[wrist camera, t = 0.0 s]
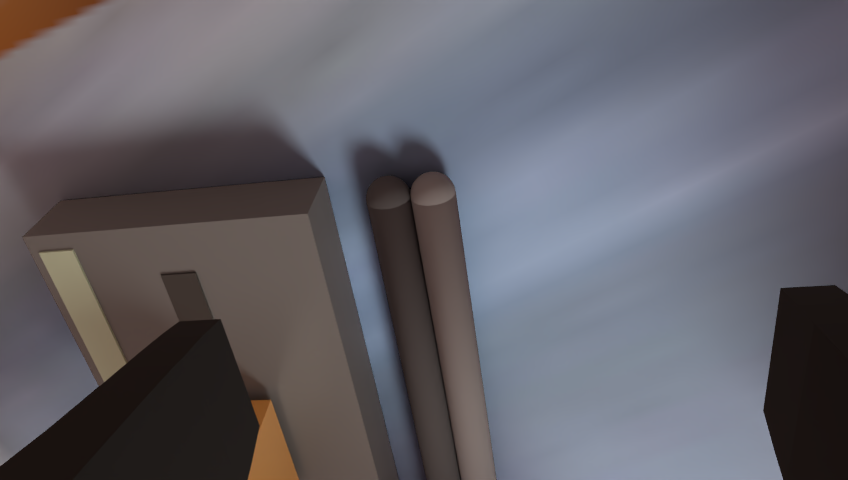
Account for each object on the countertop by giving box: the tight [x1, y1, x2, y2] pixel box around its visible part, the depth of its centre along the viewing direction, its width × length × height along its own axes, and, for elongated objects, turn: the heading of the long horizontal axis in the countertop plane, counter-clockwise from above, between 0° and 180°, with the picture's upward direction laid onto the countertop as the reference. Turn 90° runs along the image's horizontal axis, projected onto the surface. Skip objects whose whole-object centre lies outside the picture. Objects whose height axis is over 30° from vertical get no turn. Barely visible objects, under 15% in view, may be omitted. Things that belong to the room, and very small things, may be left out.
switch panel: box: [22, 177, 399, 480], centre depth 24 cm, size 16×8×2 cm, turn 8°
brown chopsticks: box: [366, 172, 496, 480], centre depth 23 cm, size 16×2×1 cm, turn 8°
